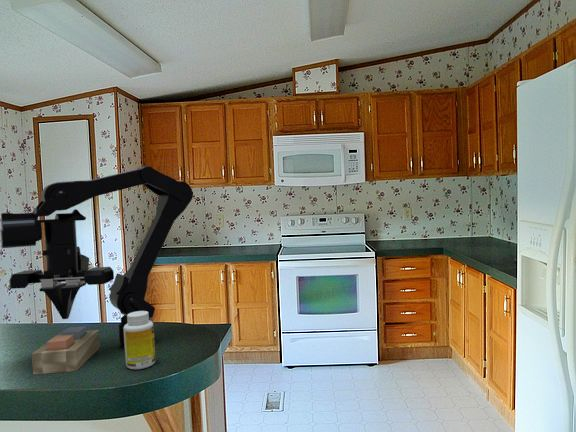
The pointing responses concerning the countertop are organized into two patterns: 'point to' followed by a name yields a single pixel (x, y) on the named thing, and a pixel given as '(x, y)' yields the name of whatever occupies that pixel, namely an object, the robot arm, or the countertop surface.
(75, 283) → the robot arm
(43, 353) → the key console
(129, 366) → the supplement bottle
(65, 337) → the key terracotta
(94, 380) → the countertop surface
